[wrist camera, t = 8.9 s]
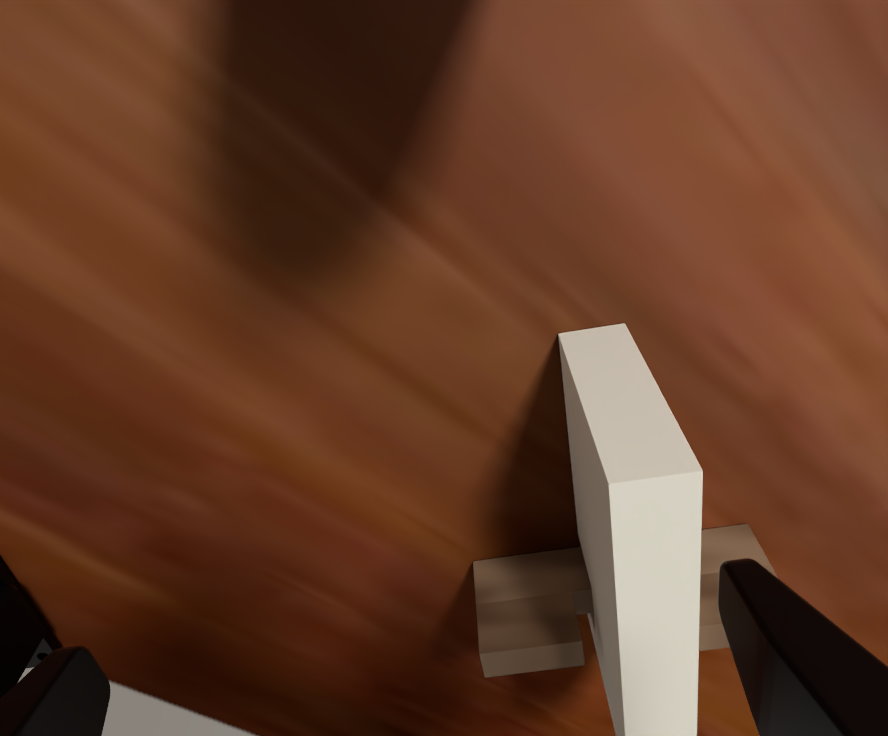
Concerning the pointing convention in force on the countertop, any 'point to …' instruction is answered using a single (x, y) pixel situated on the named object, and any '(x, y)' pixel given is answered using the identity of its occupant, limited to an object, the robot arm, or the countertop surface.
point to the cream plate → (635, 531)
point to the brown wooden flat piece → (576, 602)
